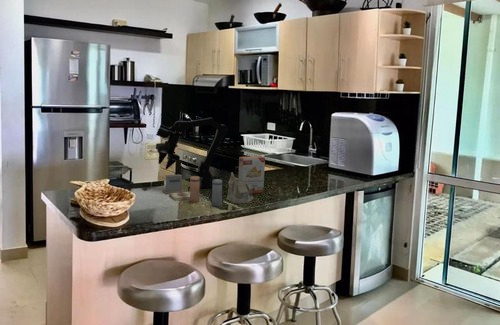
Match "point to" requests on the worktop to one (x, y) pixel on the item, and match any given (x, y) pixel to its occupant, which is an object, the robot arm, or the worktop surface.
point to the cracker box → (252, 172)
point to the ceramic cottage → (239, 191)
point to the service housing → (173, 184)
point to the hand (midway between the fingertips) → (162, 166)
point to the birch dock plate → (180, 196)
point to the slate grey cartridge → (217, 192)
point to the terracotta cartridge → (194, 189)
